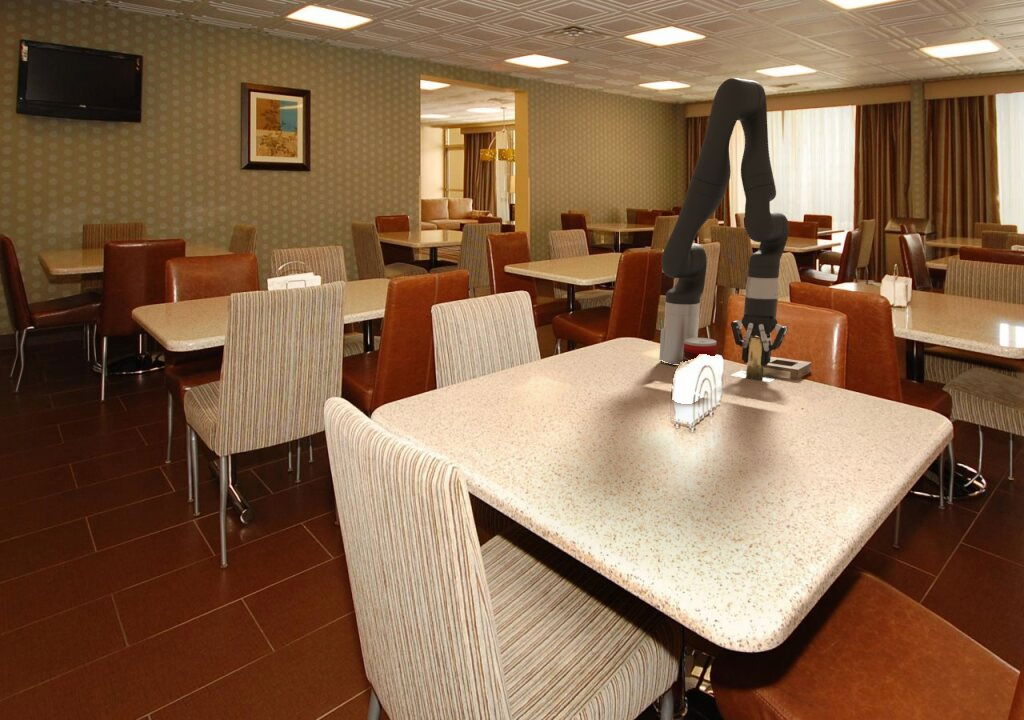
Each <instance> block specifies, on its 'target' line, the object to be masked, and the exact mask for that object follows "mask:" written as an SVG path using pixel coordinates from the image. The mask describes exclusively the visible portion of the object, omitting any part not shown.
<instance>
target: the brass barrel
mask: <svg viewBox="0 0 1024 720" xmlns="http://www.w3.org/2000/svg"><path fill="white" fill-rule="evenodd" d="M763 351H764V347H763V342H762V340H761V337H758V336H751V337H750V339H749V346H748V358H747V363H746V376H747V377H750V378H762V377H763V370H764V366H762V356H763Z"/></svg>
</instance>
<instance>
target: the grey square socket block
mask: <svg viewBox="0 0 1024 720" xmlns="http://www.w3.org/2000/svg"><path fill="white" fill-rule="evenodd" d="M811 371H812V362H811V361H805V360H798V359H797V360H796V359H790V358H784V357H775V356H771V357H770V363H768V364H767V365H766V366H764V370H763V374H764V375H771V376H777V377H779V378H781V379H783V378H784V379H791V380H796V381H797V380H800V379H802V378H803V377H805V376H806V375H808V374H810V373H811Z"/></svg>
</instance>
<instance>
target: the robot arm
mask: <svg viewBox="0 0 1024 720" xmlns="http://www.w3.org/2000/svg"><path fill="white" fill-rule="evenodd" d="M767 107H768V106H767V95H766V91H765V88H764V87H763V85H762V84H761V83H760V82H758V81H755V80H753V79H744V78H736V77H731V78H727V79H726V80H724V81H723V82H722V83H721V84H720V85H719V87H718V88H717V90H716V92H715V95H714V97H713V102H712V105H711V108H710V114H709V118H708V121H707V127H706V131H705V135H704V139H703V140H702V141H703V142H702V145H701V149H700V152H699V155H698V158H697V162H696V164H695V168H694V170H693V172H692V175H691V178H690V182H689V185H688V187H687V190H686V194H685V198H684V200H683V203H682V205H681V206H682V207H681V209H680V210H679V213H678V217H677V220H676V222H675V225H674V227H673V229H672V232H671V233H670V236H669V237H668V240H667V242H666V245H665V247H664V250H663V253H662V256H661V263H660V264H661V270H662V272H663V274H664V275H665V276H666V277H668V278H671V279H677V283H676V284H675V285H674V286H673V287H672V288H670V289H669V290H668V291H666V294H665V305H664V308H665V309H664V325H663V326H664V327H663V328H662V327H661V329H660V344H659V359H658V360H663V361H665V362H668V363H671V364H680V362H682V361H683V349H684V340H685V339H688V338H699V337H698V336H699V321H700V320H699V319H700V305H701V297H702V295H703V293H704V290H705V282H706V276H707V263H708V262H707V261H708V260H707V259H708V257H707V253H706V250H705V248H704V246H702V245H701V244H699V243H694V241H695V239H696V236H697V234H698V233H699V231H700V230H701V228H702V226H704V224H705V223H706V222H707V221H708V220H709V218H711V216H712V215H713V214H714V213H715V212H716V211H717V209H718V208H719V206H720V205H721V204H722V201H723V199H724V196H725V194H726V191H727V188H728V186H729V183H730V179H731V171H732V170H731V159H730V141H731V137H732V135H733V132H734V128H735V126H736V123H737V121H739V123H740V125H741V128H742V131H743V134H744V135H743V136H744V149H743V153H742V159H741V163H740V176H741V177H740V178H741V183H742V188H743V193H744V196H745V204H744V228H745V231H746V235H748V237H749V239H750V240H751V241H754V243H755V242H756V243H760V244H759V247H758V249H757V251H755V252H753V253H752V254H751V255H750V257H749V261H748V270H747V271H748V272H747V281H746V286H745V295H744V306H743V317H742V318H741V320H734V321H731V322H730V327H731V331H732V334H733V335H732V336H733V338H734V339H733V340H734V343H735V344H736V346H737V345H738V346H740V347H741V348H742V350H741V351H742V352H741V360H742V361H743V363H744V364H747V358H748V346H749V339H750V337H751V336H758V337H761V340H762V342H763V347H764V351H763V356H762V366H766V365H767V364H768V363H770V357H772V356H771V354H772V351H776V350H777V349H780V347H781V346H782V343H783V341H784V339H785V337H786V335H787V332H788V330H789V328H788V326H787V325H785V326H783V325H782V324H779V323H778V320H777V311H778V298H779V294H780V292H779V290H780V288H779V287H780V285H779V283H780V282H779V279H780V278H779V275H780V265H781V259H782V256H783V253H784V251H785V249H786V248H785V247H786V244H787V242H788V238H789V234H790V224H789V220H788V218H787V216H786V215H785V214H783V213H782V212H778V211H777V212H776V211H771V205H770V204H771V203H770V202H771V201H773V200H775V198H776V197H777V188H776V183H775V179H774V173H773V169H772V164H771V157H770V151H769V149H770V148H769V135H768V130H769V129H768V108H767ZM742 327H744V329H745V331H746V332H745V334H744V337H743V332H742ZM774 330H775V334H776V336H775V338H774V341H773V342H772V339H773V338H772V334H771V333H772V332H773V331H774Z"/></svg>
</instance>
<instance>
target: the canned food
mask: <svg viewBox="0 0 1024 720" xmlns="http://www.w3.org/2000/svg"><path fill="white" fill-rule="evenodd" d="M717 345H718V344H717V340H715V339H712V338H707V337H698V338H688V339H685V340H684V349H683V362H685V361H688V360H691V359H694V358H696V357H697V356H698V355H699V354H707V355H710V356H715V355H716V356H717Z"/></svg>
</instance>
